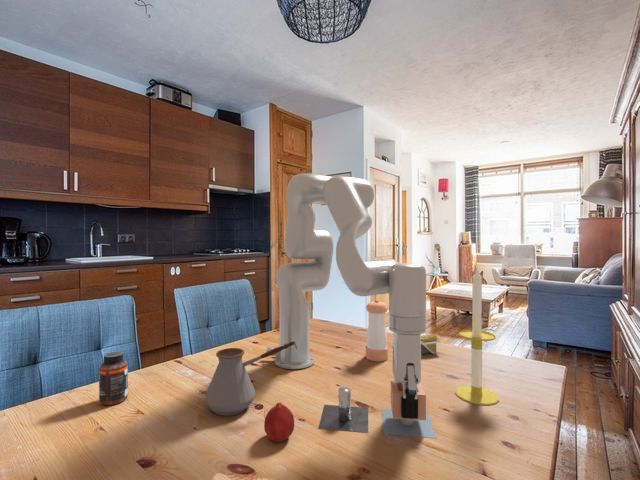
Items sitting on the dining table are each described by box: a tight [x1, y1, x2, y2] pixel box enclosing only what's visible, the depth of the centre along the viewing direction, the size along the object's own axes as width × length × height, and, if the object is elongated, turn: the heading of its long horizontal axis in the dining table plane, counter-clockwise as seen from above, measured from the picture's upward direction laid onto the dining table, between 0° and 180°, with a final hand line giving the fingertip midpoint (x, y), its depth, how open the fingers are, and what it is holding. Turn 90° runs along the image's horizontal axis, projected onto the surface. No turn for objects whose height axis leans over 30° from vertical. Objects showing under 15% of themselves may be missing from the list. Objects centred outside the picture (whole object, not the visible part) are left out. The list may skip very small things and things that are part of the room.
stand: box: [317, 386, 369, 434], centre depth 73 cm, size 10×10×7 cm
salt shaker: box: [365, 299, 389, 362], centre depth 112 cm, size 7×7×19 cm
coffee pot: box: [204, 341, 297, 417], centre depth 80 cm, size 21×12×15 cm, turn 96°
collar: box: [390, 379, 427, 420], centre depth 71 cm, size 6×6×5 cm
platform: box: [421, 334, 442, 355], centre depth 116 cm, size 12×18×7 cm, turn 108°
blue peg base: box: [381, 408, 437, 439], centre depth 71 cm, size 10×10×8 cm
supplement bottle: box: [98, 351, 129, 406], centre depth 82 cm, size 6×6×11 cm
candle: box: [454, 267, 500, 406], centre depth 85 cm, size 10×10×32 cm
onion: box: [263, 401, 295, 443], centre depth 65 cm, size 6×6×8 cm
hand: (407, 408), depth 71 cm, fingers closed on collar, 6 cm apart
